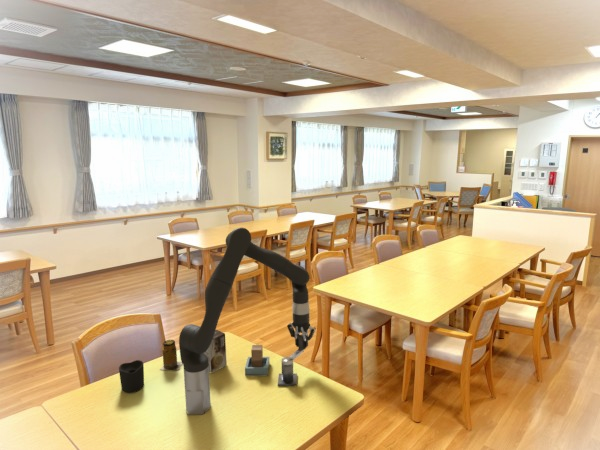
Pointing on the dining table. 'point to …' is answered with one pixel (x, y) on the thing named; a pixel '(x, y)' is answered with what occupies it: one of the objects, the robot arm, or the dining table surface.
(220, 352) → the coffee box
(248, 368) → the tray
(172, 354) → the condiment
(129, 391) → the pen holder
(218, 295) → the robot arm
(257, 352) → the block
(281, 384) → the crank pedestal
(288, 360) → the crank lever
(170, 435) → the dining table surface
